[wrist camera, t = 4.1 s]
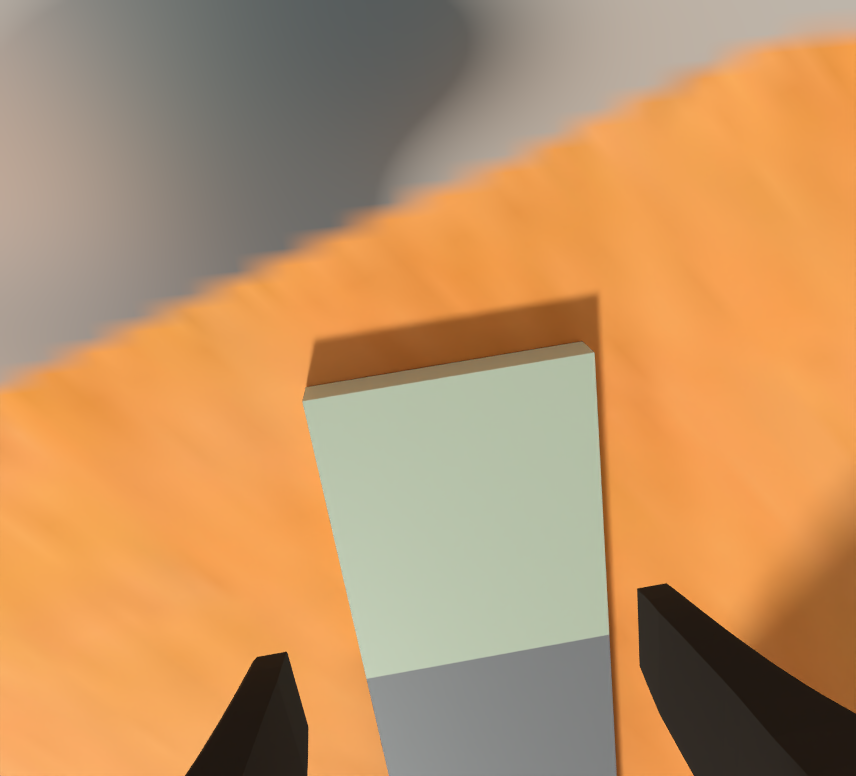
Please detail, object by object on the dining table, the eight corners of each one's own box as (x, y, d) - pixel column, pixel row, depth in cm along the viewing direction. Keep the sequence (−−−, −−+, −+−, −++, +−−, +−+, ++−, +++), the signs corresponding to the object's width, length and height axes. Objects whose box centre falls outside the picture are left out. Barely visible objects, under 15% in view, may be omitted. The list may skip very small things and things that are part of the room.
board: (582, 341, 21) (594, 352, 20) (610, 809, 29) (619, 836, 28) (305, 387, 21) (302, 401, 20) (410, 847, 29) (412, 876, 28)
